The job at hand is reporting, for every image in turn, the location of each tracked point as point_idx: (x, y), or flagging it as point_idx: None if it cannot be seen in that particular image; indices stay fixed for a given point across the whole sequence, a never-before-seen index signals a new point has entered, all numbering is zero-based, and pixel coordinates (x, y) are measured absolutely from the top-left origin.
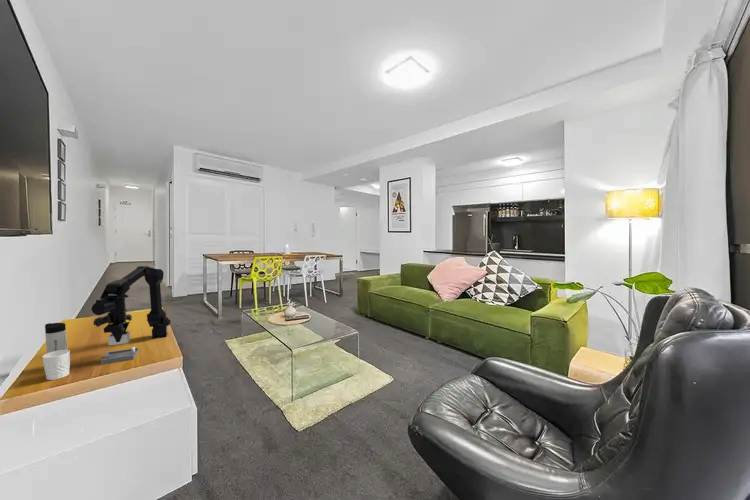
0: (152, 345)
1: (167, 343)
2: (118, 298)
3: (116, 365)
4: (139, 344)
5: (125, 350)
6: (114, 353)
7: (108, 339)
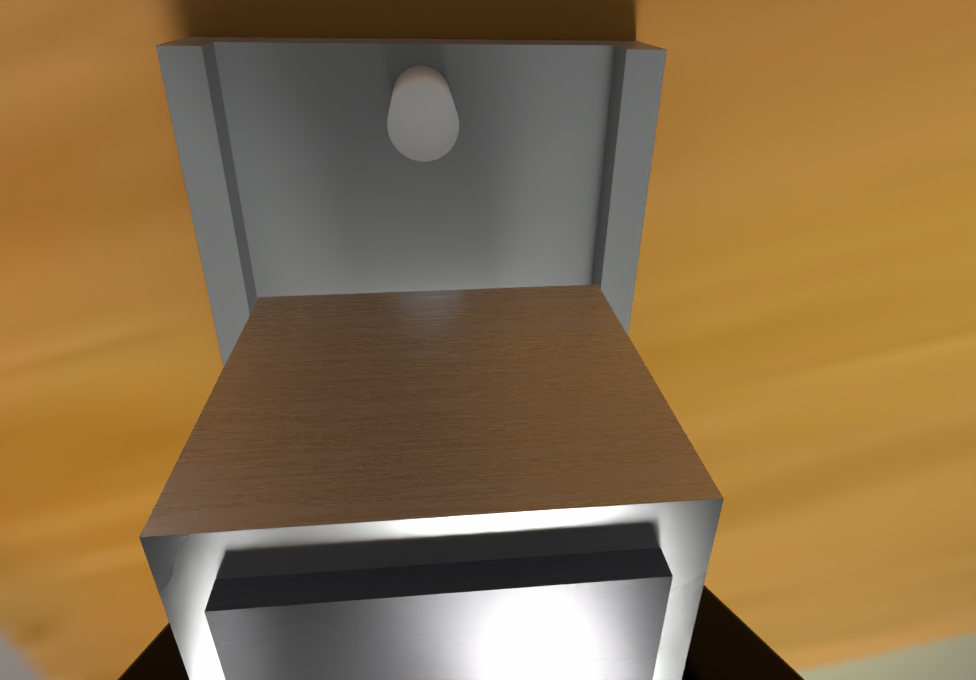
0: (748, 556)
1: None
2: None
3: (65, 327)
4: (928, 400)
5: None
6: (587, 182)
7: (197, 435)
